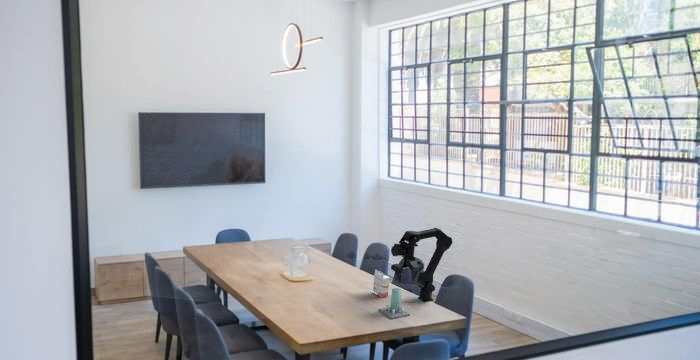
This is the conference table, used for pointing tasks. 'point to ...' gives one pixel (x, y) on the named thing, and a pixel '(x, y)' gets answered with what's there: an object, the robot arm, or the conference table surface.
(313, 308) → the conference table surface
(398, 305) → the rounded cone
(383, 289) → the ink cartridge box
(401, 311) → the pin board
